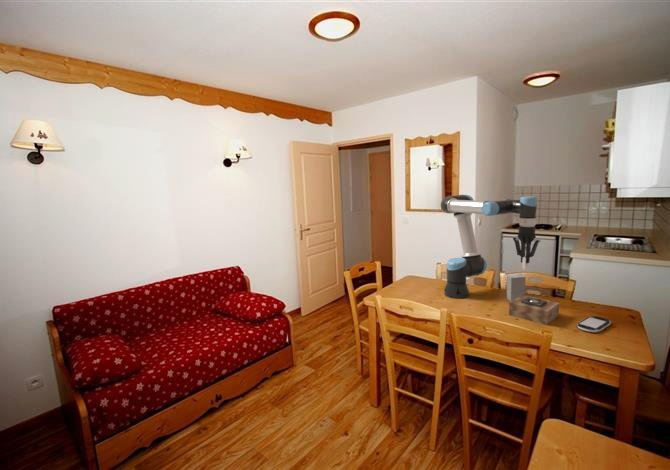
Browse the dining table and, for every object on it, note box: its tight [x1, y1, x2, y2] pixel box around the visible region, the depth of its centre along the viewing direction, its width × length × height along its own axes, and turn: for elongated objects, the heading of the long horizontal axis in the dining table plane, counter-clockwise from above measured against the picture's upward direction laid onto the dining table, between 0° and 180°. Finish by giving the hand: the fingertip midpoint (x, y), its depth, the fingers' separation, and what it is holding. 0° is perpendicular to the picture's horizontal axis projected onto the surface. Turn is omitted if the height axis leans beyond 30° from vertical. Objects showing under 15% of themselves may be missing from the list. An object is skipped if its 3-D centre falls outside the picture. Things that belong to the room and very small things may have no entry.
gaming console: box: [576, 315, 612, 334], centre depth 153 cm, size 19×9×2 cm, turn 121°
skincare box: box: [506, 273, 526, 302], centre depth 189 cm, size 8×7×16 cm
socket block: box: [508, 294, 560, 326], centre depth 168 cm, size 18×16×8 cm
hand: (524, 268), depth 172 cm, fingers closed
